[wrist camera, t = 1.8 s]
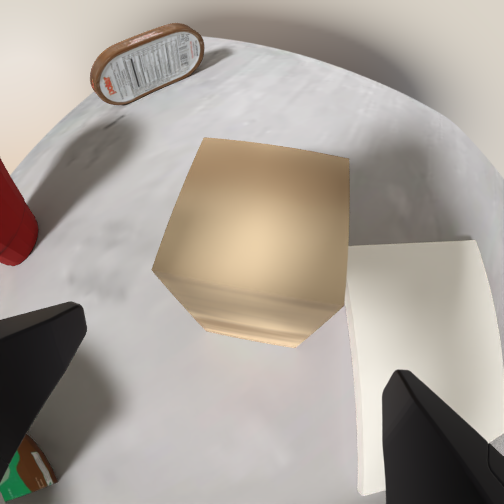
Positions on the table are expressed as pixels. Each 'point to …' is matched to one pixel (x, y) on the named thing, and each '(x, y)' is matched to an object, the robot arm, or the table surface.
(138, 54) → the tin
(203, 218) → the wooden block
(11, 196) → the plastic cup
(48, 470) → the food container
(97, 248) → the table surface
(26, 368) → the robot arm
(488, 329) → the cutting board
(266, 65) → the table surface
